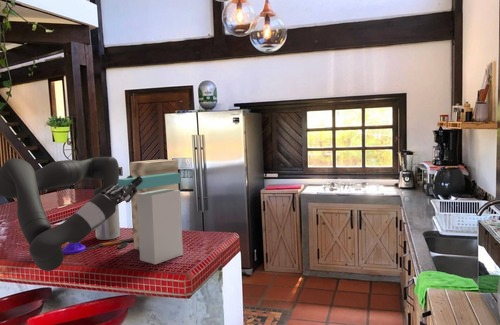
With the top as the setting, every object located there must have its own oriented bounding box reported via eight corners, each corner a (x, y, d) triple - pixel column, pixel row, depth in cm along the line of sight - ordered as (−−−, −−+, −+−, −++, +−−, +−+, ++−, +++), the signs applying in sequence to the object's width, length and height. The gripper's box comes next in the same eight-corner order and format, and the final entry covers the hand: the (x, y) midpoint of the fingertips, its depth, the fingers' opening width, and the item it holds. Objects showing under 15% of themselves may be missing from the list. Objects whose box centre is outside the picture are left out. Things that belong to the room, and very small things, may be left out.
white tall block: (140, 260, 134) (136, 193, 132) (167, 250, 143) (164, 188, 141) (155, 264, 129) (151, 195, 127) (183, 254, 138) (180, 190, 136)
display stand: (134, 248, 147) (129, 162, 145) (163, 239, 158) (160, 159, 156) (151, 253, 141) (146, 163, 138) (180, 243, 152) (177, 160, 149)
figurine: (59, 257, 143) (55, 230, 141) (68, 248, 151) (65, 223, 149) (81, 256, 143) (77, 229, 141) (89, 247, 151) (86, 222, 149)
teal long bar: (118, 190, 124) (117, 179, 124) (172, 182, 141) (172, 172, 141) (126, 191, 122) (125, 179, 121) (180, 183, 139) (180, 173, 139)
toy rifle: (79, 254, 139) (73, 248, 147) (79, 258, 139) (74, 251, 147) (169, 237, 157) (160, 232, 166) (170, 241, 157) (160, 236, 166)
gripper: (102, 204, 110) (145, 169, 121) (75, 200, 119) (118, 167, 130) (115, 225, 113) (156, 188, 124) (88, 219, 122) (128, 185, 133)
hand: (136, 178), depth 127 cm, fingers closed on teal long bar, 4 cm apart
